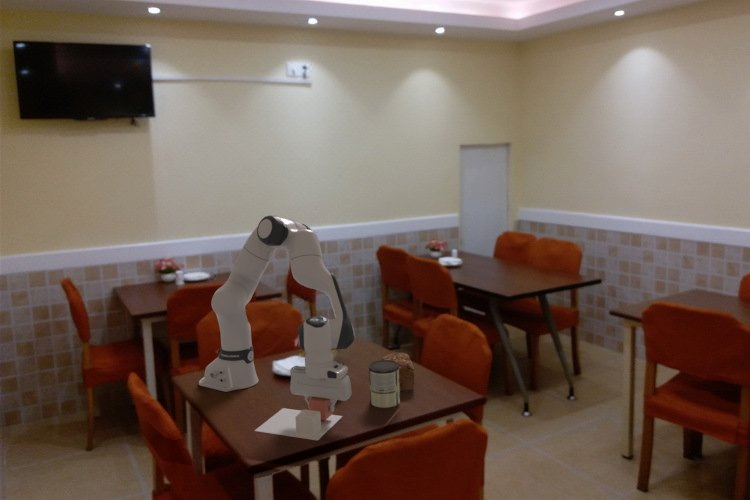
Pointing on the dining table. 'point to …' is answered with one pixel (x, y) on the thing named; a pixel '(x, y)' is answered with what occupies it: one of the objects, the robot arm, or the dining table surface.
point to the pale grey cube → (308, 423)
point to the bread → (403, 370)
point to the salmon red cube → (320, 406)
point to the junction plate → (293, 424)
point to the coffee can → (384, 383)
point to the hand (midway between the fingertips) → (321, 409)
